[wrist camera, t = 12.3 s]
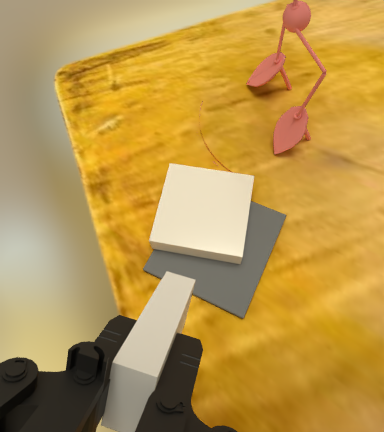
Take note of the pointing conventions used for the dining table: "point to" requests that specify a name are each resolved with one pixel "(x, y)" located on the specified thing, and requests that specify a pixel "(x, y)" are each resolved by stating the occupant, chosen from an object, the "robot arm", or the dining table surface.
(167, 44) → the dining table surface
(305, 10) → the figurine
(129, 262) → the dining table surface
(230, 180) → the tile
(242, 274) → the mat
